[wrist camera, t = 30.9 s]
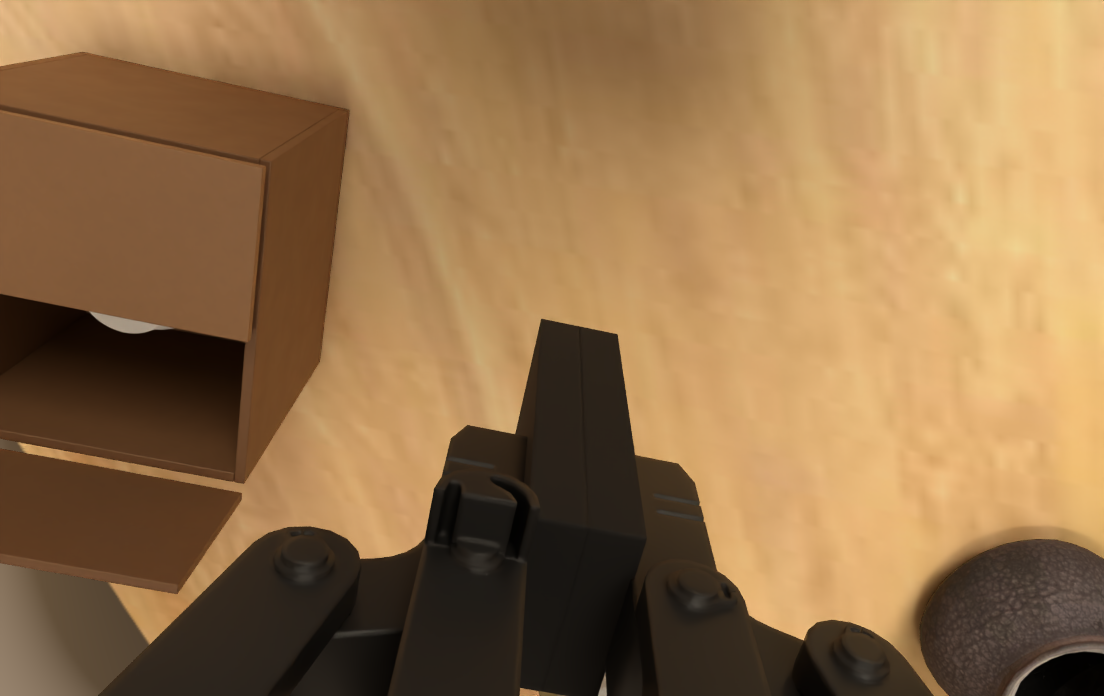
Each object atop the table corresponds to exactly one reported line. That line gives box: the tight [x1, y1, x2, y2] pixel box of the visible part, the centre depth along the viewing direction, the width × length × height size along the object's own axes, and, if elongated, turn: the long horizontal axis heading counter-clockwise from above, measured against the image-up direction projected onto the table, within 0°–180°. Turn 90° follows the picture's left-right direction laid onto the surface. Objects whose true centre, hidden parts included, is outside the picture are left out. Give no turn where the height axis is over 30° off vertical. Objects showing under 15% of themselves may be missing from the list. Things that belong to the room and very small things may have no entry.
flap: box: [0, 110, 266, 342], centre depth 32 cm, size 7×13×1 cm, turn 78°
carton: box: [0, 52, 349, 594], centre depth 36 cm, size 15×13×19 cm
